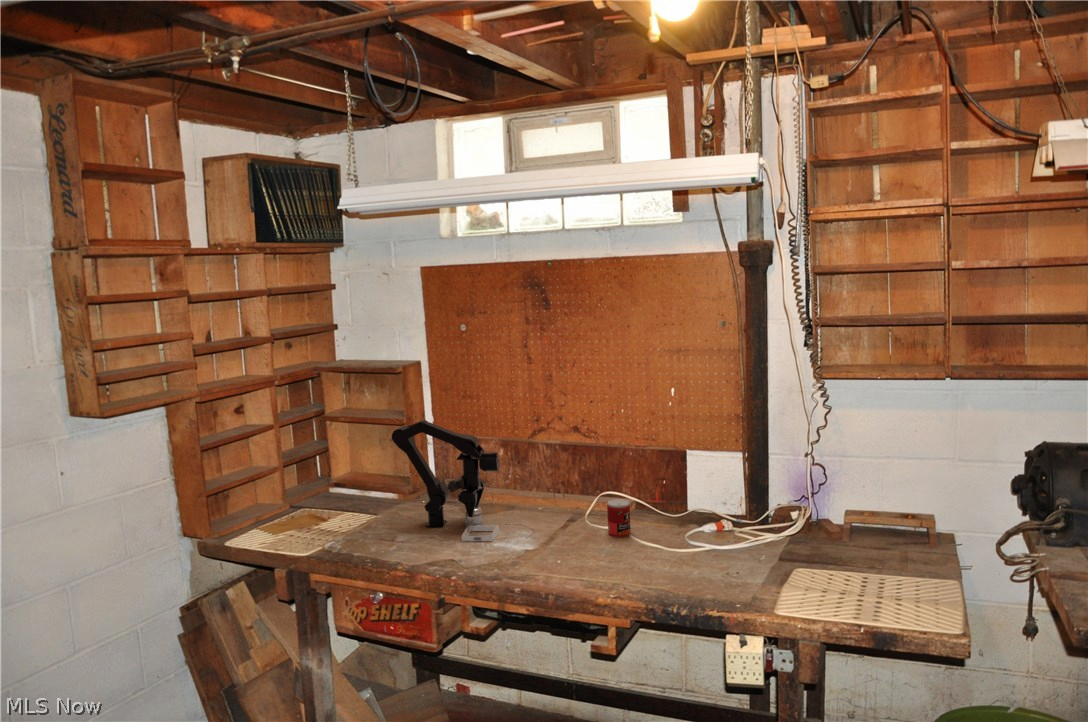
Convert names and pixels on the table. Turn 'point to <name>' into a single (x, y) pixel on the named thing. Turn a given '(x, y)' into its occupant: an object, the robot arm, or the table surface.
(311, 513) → the table surface
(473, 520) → the piston
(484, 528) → the grey square frame
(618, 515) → the canned food
